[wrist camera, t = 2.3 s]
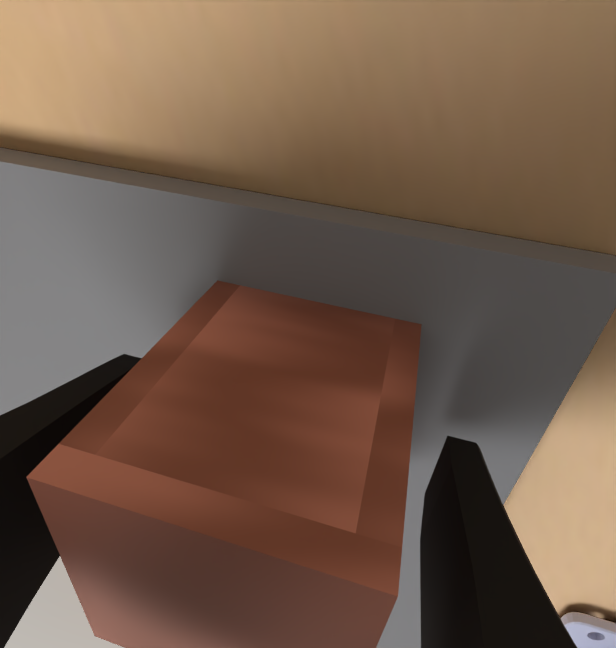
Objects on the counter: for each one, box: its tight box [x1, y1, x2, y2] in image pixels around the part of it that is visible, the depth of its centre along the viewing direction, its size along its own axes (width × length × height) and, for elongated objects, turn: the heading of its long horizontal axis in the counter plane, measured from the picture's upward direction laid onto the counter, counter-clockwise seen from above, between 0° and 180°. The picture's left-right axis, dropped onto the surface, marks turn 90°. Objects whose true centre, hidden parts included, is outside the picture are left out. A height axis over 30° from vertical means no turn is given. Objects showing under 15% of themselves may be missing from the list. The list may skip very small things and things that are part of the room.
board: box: [0, 148, 616, 648], centre depth 14 cm, size 18×20×6 cm
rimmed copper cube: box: [26, 280, 422, 648], centre depth 9 cm, size 5×5×6 cm
